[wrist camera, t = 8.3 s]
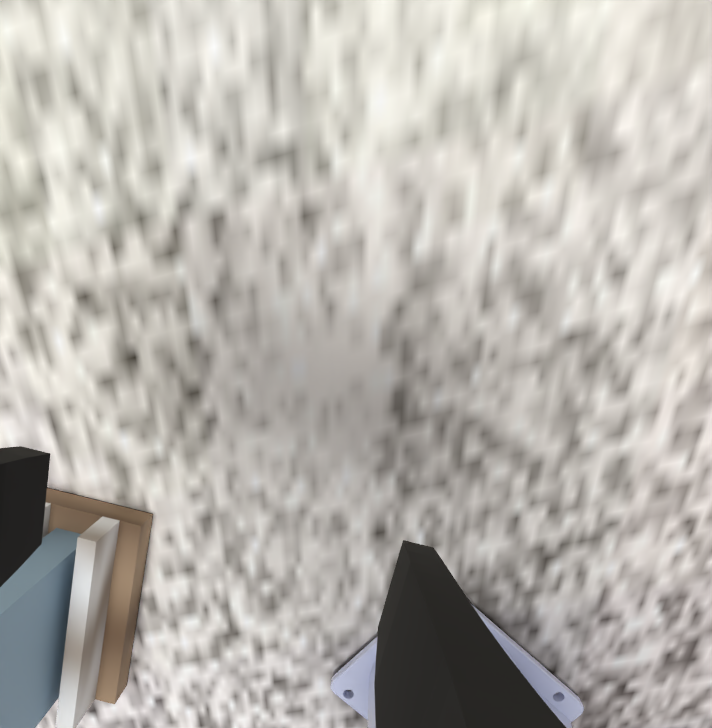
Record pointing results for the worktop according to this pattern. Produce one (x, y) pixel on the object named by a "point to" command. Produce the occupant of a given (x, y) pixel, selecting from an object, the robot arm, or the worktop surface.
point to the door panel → (35, 630)
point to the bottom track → (98, 598)
